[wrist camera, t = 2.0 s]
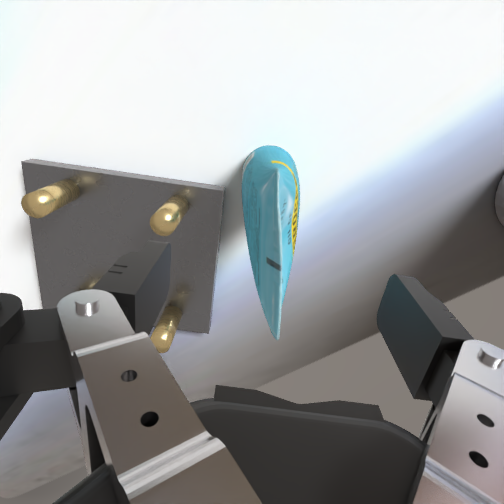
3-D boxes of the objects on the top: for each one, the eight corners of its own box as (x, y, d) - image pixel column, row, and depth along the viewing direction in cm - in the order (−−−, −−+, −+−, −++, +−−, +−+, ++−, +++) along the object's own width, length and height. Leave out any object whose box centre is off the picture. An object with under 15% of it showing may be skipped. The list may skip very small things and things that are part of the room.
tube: (298, 208, 32) (335, 338, 15) (247, 213, 33) (225, 345, 15) (293, 125, 29) (332, 165, 12) (237, 131, 30) (195, 180, 12)
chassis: (225, 186, 32) (215, 207, 26) (210, 325, 38) (200, 366, 32) (32, 158, 31) (-23, 172, 25) (51, 303, 38) (11, 341, 32)
